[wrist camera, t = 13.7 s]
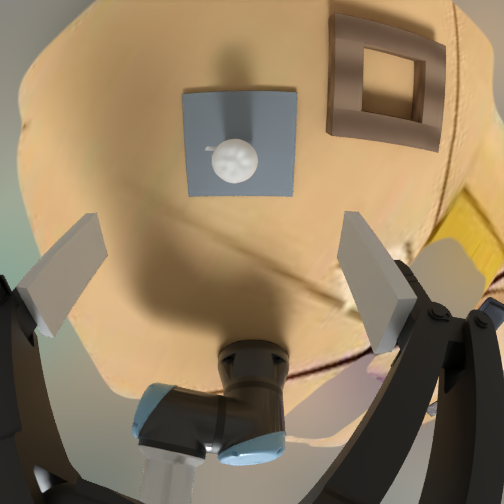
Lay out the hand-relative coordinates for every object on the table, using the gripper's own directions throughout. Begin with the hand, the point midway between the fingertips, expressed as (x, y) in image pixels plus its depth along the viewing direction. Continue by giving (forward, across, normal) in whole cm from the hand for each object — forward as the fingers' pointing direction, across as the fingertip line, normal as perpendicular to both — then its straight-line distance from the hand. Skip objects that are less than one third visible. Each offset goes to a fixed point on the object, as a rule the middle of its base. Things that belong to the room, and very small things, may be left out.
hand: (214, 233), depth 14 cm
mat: (+24, 0, 0) cm, 24 cm away
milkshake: (+23, 0, 0) cm, 23 cm away
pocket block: (+24, -19, -10) cm, 32 cm away
